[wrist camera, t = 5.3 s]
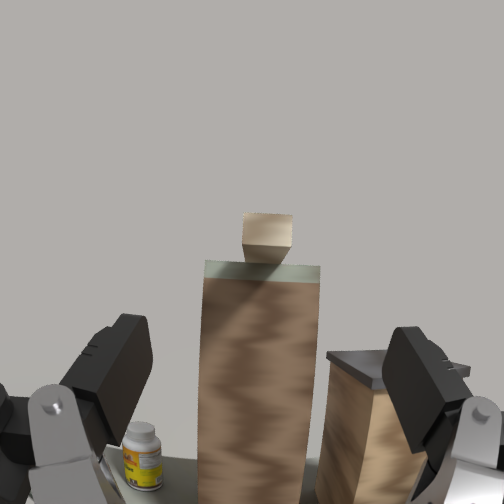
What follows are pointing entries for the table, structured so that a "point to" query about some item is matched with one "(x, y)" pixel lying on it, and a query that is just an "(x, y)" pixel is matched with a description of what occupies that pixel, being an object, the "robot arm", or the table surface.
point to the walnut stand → (255, 381)
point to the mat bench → (364, 435)
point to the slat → (266, 237)
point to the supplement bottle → (142, 457)
